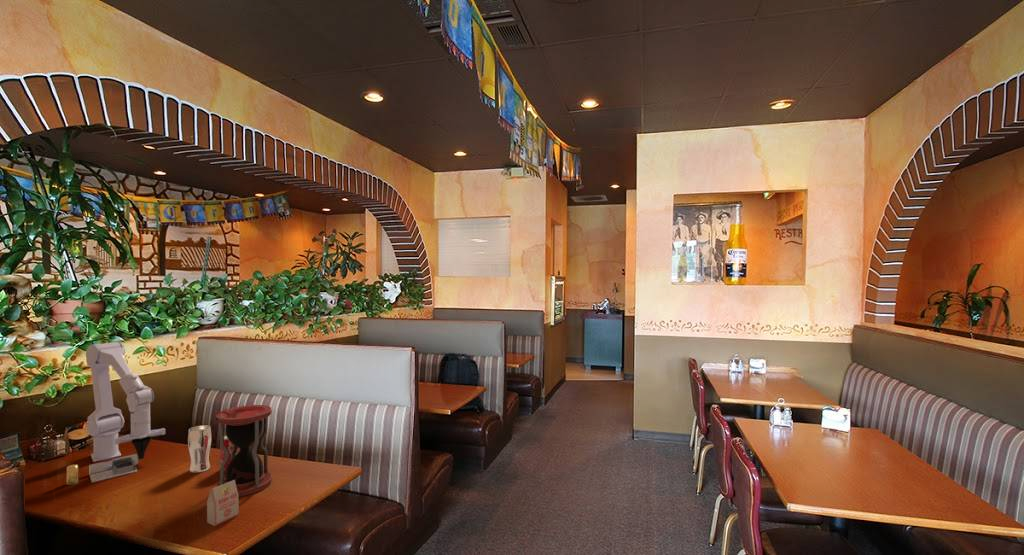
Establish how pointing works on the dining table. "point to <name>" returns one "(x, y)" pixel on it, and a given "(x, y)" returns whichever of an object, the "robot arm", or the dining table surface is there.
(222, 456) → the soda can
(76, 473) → the brass pin
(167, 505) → the dining table surface
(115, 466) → the hinge base
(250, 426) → the hourglass
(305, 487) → the dining table surface
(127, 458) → the grey slotted holder
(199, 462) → the beer glass
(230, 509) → the white printed box
